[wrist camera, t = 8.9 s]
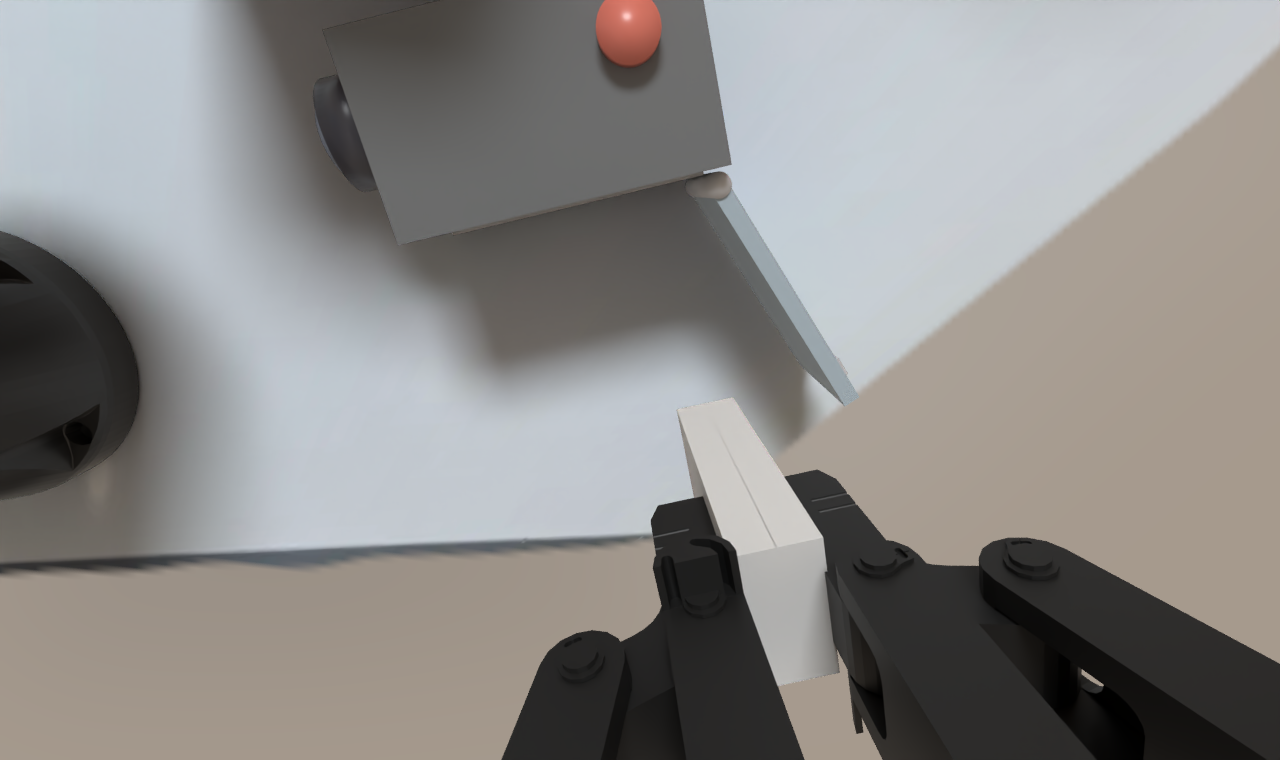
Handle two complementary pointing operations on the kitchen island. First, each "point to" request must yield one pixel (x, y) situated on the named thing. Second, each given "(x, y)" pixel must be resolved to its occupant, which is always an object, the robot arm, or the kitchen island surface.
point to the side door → (769, 282)
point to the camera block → (519, 107)
